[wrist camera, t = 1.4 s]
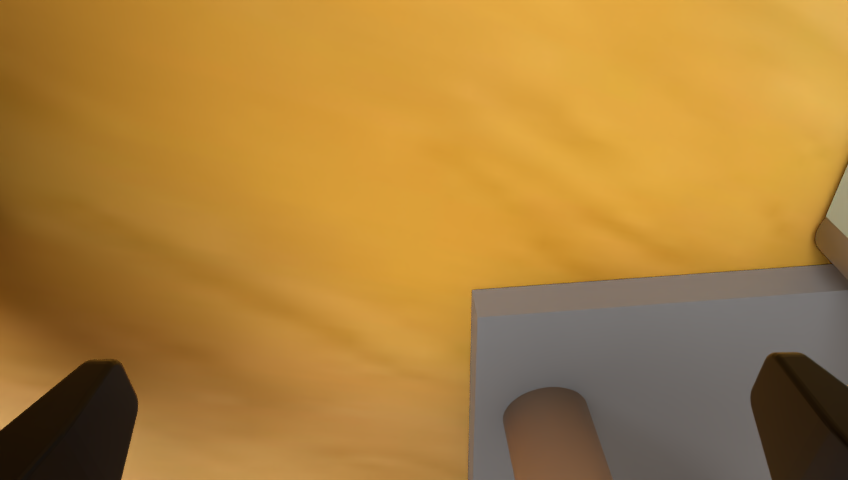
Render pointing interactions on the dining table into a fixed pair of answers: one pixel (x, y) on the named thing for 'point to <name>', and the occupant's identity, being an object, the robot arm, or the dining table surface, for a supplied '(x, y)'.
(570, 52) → the dining table surface
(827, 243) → the pale green flat block
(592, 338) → the grey peg stand
